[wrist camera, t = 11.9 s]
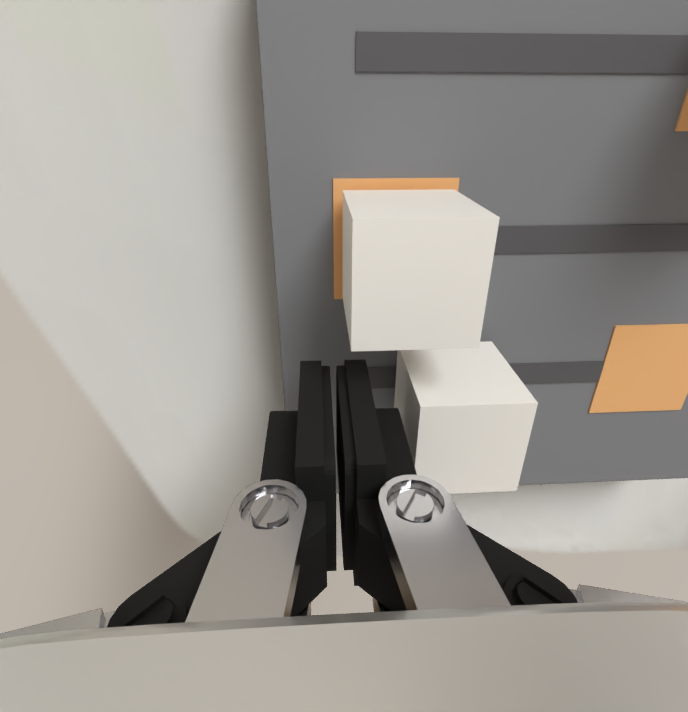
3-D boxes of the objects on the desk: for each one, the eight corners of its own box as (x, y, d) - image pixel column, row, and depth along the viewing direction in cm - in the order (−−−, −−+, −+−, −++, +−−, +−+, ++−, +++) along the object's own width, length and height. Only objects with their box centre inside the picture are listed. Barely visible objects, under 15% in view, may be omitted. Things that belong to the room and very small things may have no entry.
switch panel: (857, -62, 11) (964, -94, 9) (654, 441, 18) (692, 478, 16) (258, -76, 10) (247, -114, 8) (293, 455, 17) (290, 496, 16)
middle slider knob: (454, 189, 11) (500, 217, 8) (442, 294, 12) (479, 348, 9) (342, 189, 11) (352, 219, 8) (342, 296, 12) (351, 351, 9)
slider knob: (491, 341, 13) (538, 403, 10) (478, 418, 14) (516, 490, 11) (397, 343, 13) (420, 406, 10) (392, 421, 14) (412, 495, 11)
